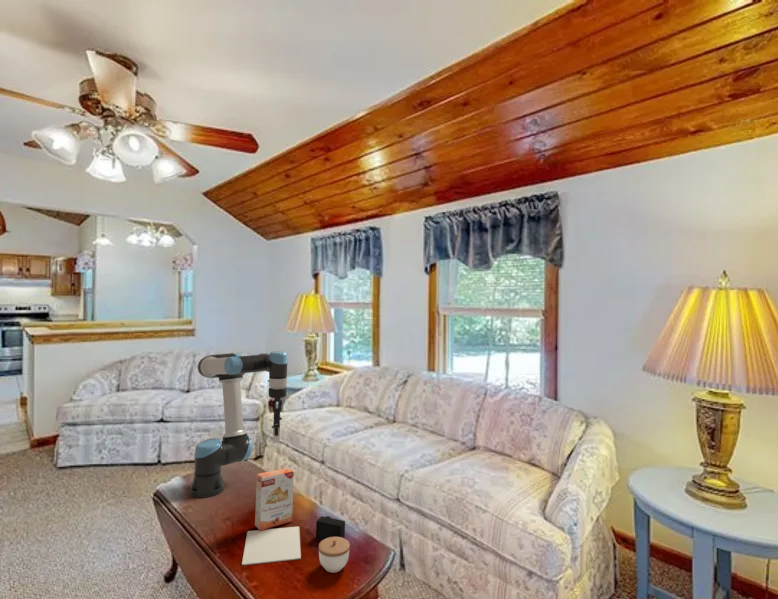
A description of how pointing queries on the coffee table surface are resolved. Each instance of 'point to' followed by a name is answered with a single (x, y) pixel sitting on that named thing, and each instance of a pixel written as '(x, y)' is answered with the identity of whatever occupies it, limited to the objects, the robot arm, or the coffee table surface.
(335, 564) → the lidded jar
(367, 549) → the coffee table surface
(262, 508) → the cracker box
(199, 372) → the robot arm
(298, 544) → the mat
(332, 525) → the digital camera
